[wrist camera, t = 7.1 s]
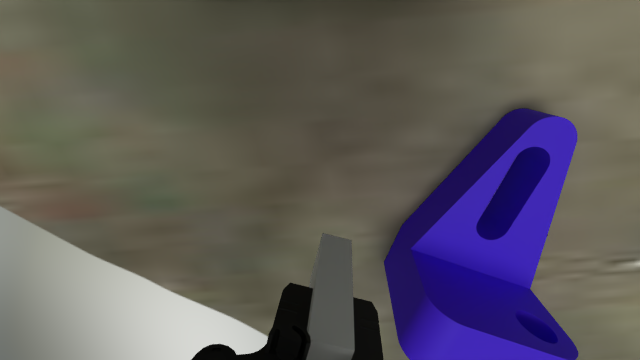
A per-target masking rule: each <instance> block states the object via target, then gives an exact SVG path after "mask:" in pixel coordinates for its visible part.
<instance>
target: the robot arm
mask: <svg viewBox="0 0 640 360" xmlns="http://www.w3.org/2000/svg"><path fill="white" fill-rule="evenodd" d="M192 360H383V352H382V344H381V336H380V328H379V321H378V313H377V310H376V309H375V307H374V305H373V304H372V302H370V301H366V300H362V299H358V298H354V297H353V275H352V241H351V240H349V239H345V238H341V237H337V236H333V235H329V234H325V233H323V234H322V237H321V241H320V245H319V249H318V252H317V256H316V260H315V263H314V267H313V271H312V275H311V279H310V285H309V287H305V286H301V285H297V284H293V283H289V284H288V285H287V286H286V287H285V288H284V289H283V292H282V296H281V299H280V303H279V306H278V310H277V313H276V317H275V320H274V324H273V327H272V329H271V331H270V333H269V336H268V340H267V344H266V345H265V346H264V347H263V348H262V349H261V350H259V351H257V352H254V353H251V354H243V355H236V353H235V351H234V350H232V349H231V348H230V347H229V346H225V345H222V344H213V345H209V346H207V347H205V348H203V349H202V350H200V351H199V352H198V353H197V354H196V355H195V356H194V357H193V359H192Z"/></svg>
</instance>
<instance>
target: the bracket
mask: <svg viewBox="0 0 640 360" xmlns="http://www.w3.org/2000/svg"><path fill="white" fill-rule="evenodd" d="M576 142H577V131H576V128H575V126H574V125H573V124H572V123H571V122H570V121H569V120H567V119H565V118H562V117H558V116H554V115H550V114H546V113H542V112H538V111H534V110H530V109H525V108H522V109H516V110H513V111H511V112H509V113H508V114H506V115H505V116H504V117H503V118H502V119H501V120H500V121H499V122H498V123H497V124H496V125H495V126H494V127H493V128H492V129H491V131H490V132H489V133H488V134H487V135H486V136H485V137H484V138H483V139H482V140H481V141H480V142H479V143H478V144H477V146H476V147H475V148H474V149H473V150H472V151H471V152H470V153H469V154H468V155H467V156H466V157H465V158H464V159H463V160H462V162H461V163H460V164H459V165H458V166H457V167H456V168H455V169H454V170H453V171H452V172H451V173H450V174H449V175H448V177H447V178H446V179H445V180H444V181H443V182H442V183H441V184H440V185H439V186H438V187H437V188H436V189H435V190H434V192H433V193H432V194H431V195H430V196H429V197H428V198H427V199H426V200H425V201H424V202H423V203H422V204H421V205H420V206H419V208H418V209H417V210H416V211H415V212H414V213H413V214H412V215H411V216H410V217H409V218H408V219H407V220H406V221H405V223H404V224H403V225H402V226H401V228H400V231H399V233H398V235H397V237H396V239H395V241H394V243H393V245H392V247H391V249H390V251H389V253H388V255H387V257H386V259H385V261H384V265H385V271H386V276H387V281H388V287H389V292H390V298H391V303H392V308H393V314H394V319H395V325H396V330H397V335H398V340H399V343H400V346H401V348H402V350H403V351H404V353H405V354H406V355H407V357H408V358H409V359H410V360H576V358H577V357H578V351H577V348H576V346H575V345H574V343H573V342H572V340H571V339H570V338H569V337H568V335H567V334H566V333H565V332H564V331H563V329H562V328H561V327H560V326H559V324H558V323H557V322H556V321H555V319H554V318H553V317H552V316H551V314H550V313H549V312H548V311H547V310H546V308H545V307H544V306H543V305H542V303H541V302H540V301H539V300H538V298H537V297H536V296H535V295H534V293H533V292H532V291H531V290H530V287H531V284H532V281H533V278H534V275H535V271H536V268H537V265H538V262H539V259H540V256H541V253H542V249H543V246H544V243H545V240H546V237H547V234H548V231H549V228H550V224H551V221H552V218H553V215H554V212H555V209H556V206H557V202H558V199H559V196H560V193H561V190H562V187H563V184H564V180H565V177H566V174H567V171H568V168H569V165H570V162H571V158H572V155H573V152H574V149H575V146H576ZM517 155H518V156H517ZM516 156H517V157H516ZM515 158H516V159H515ZM514 159H515V161H514ZM513 161H514V162H513ZM512 163H513V164H512ZM511 165H512V166H511ZM510 166H511V167H510ZM509 168H510V169H509ZM508 170H509V171H508ZM507 171H508V172H507ZM506 173H507V174H506ZM505 175H506V176H505ZM504 176H505V178H504ZM503 178H504V179H503ZM502 180H503V181H502ZM501 182H502V183H501ZM500 183H501V184H500ZM499 185H500V186H499ZM498 187H499V188H498ZM497 188H498V189H497ZM496 190H497V191H496ZM495 192H496V193H495ZM494 193H495V194H494ZM493 195H494V196H493ZM492 197H493V198H492ZM491 198H492V200H491ZM490 200H491V201H490ZM489 202H490V203H489ZM488 204H489V205H488ZM487 205H488V206H487ZM486 207H487V208H486ZM485 209H486V210H485ZM484 210H485V211H484Z"/></svg>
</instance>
